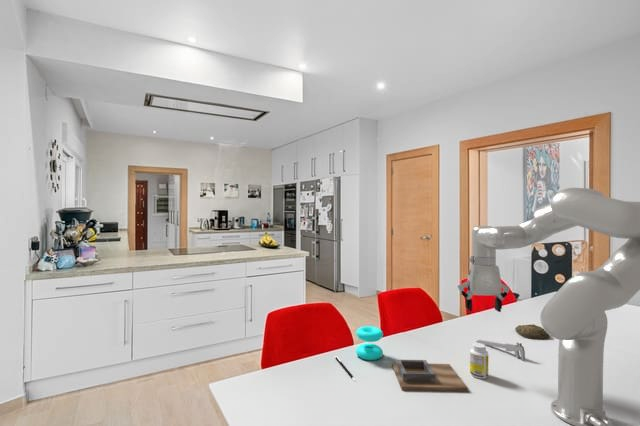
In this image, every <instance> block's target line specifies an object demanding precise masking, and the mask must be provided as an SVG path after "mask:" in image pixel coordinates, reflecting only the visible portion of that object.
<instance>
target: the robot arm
mask: <svg viewBox="0 0 640 426" xmlns="http://www.w3.org/2000/svg"><path fill="white" fill-rule="evenodd" d="M575 227H580V228H584V229H586V230H587V229H588V231H589V230H590V231H593V232H595V233H597V234H601V235H605V236H608V237H612V238H616V239H626V240H627V239H628V240H627V241H626V242H625V243H624V244H623V245H621V246H620V247H619V248H618V249H616V250H615V251H614V252H613V253H612V254H611V255H610V257H609V258H608V259H607V260H606V261H605V262H603V264H602V265H601V266H600V267H598V268H596V269H594V270H589V271H583V272H579V273H576V274H575V275H573V276H572V277H570V278H569V279H568V280H567V281H566V282H564V284H563V285H562V286H561V287H560V288H559V289H558V290H557V291H556V293H554V294H553V295H552V297H551V298H550V299H549V300H548V301H547V303H546V304H545V305H544V306H543V307H542V309H541V312H540V318H539V320H540V324H541V328H543V329H544V330H545V331H546V332H547V333H548V334H549V337H552V338H554V339H556V340H559V342H558V357H557V358H558V363H557V364H558V367H557V371H558V372H557V374H558V375H557V378H558V379H557V380H558V381H557V399H555V400H553V401H552V402H551V403H550V408H551V412H552V413H553V414H554V415H555V416H557V418H559V419H560V420H561V421H564V422H565V423H567V424H570V425H572V426H613V424H612V422H611V419H610V417H609V416H607V414H606V410H605V409H604V407H603V406H604V404H603V403H604V354H605V353H604V352H605V341H606V335H607V332H608V317H607V313H606V311H609V310H610V311H611V310H613V309H618V308H620V307H623V306H625V305H626V304H628V302H629V301H631V299H632V298H634V296H635V295H636V294H637V293H638V292H639V291H640V201H629V200H628V201H625V200H621V199H615V198H613V197H608V196H606V195H604V193H602V192H600V191H599V190H597V189H593V188H588V187H587V188H585V187H584V188H582V187H568V188H567V187H566V188H564V189H562V190H560V191H558V192H557V193H555V194H554V196H553V197H552V199H551V201H550V202H549V203H546V204H545V205H542V206H539V207H538V208H536V209H535V210H534V212H533V218H532V219H530V220H528V221H525V222H523V223H520V224H517V225H509V226H508V225H504V226H502V225H501V226H500V225H498V226H492V225H491V226H488V225H477V226H473V227H472V230H471V255H470V256H471V257H468V258H467V262H469V263H471V264H470V265H469V268H468V272H467V273H468V274H467V280H466V281H465V282H463V283H460V284H459V285H457V289H458V291H459V293H460V294H461V295H462V296H463V298H464V299H465V301H464V303H465V306H464V307H465V309H466V310H467V311H468V312H472V311H473V299H472V297H473V296H494V297H495V298H494V310H495V311H496V312H499V313H502V309H503V300H504V299H505V297H506V296H508V293H509V291H510V290H511V288H510V286H508V285H506V284H504V283H502V280H501V273H500V268H499V266H498V265H497V264H496V262H497V261H496V260H497V259H496V257H497V250H499V251H500V250H502V251H503V250H510V249H511V250H513V249H516V250H517V249H522V248H525V247H528V246H531V245H533V244H534V245H535V244H536V243H539V242H542V241H545V240H547V239H548V238H550V237H552V236H553V235H555V234H559V233H561V232H564V231H567V230H570V229H572V228H575ZM465 288H467V291H466V292H465V290H464V289H465Z"/></svg>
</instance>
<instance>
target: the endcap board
mask: <svg viewBox="0 0 640 426" xmlns="http://www.w3.org/2000/svg"><path fill="white" fill-rule="evenodd" d="M391 364H392V365H391V367H392V370H393V369H394V370H393V372H394V374H395V377H396V380H397V382H398V384H399V386H400V389H401V391H416V392H417V391H419V392H420V391H421V392H422V391H425V392H465V393H466V392H467V393H468V391H469V387H468V386H467V385H466V383H465V382H464V381H463V380H462V378H461V377H460V376H459V375H458V373H457V372H456V371H455V369H454V368H453V367H452V365H451V364H449V363H429V362H428V361H427V360H426V359H396V362H392V363H391Z"/></svg>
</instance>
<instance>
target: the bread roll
mask: <svg viewBox="0 0 640 426" xmlns="http://www.w3.org/2000/svg"><path fill="white" fill-rule="evenodd" d="M515 333H517V334H518V335H520V336H521V337H522V338H525V339H530V340H539V341H540V340H549V339H550V337H551V336H550V335H549V334H548V333H547V332H546V331H545V330H544V328H543V327H542V326H539V325H536V324H522V325H520V324H518V325H517V326H516V327H515Z"/></svg>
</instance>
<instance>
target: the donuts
mask: <svg viewBox="0 0 640 426" xmlns="http://www.w3.org/2000/svg"><path fill="white" fill-rule="evenodd" d="M356 336H357V337H358V339H359V340H360V341H364V342H368V343H362V344H360V345H358V346H357V348H356V350H355V352H356V355H357V356H358V357H359V358H360V359H363V360H365V361H366V360H367V361H377V360H379V359H381V358H382V356H383V354H384V352H383V349H382V348H381V346H379V345H377V344H375V343H373V342H378V341H380V340H381V339H382V338H383V337H384V333H383V331H382V330H381V328H379V327H377V326H371V325H369V326H368V325H366V326H365V325H364V326H360V327H358V328H357V329H356Z"/></svg>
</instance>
